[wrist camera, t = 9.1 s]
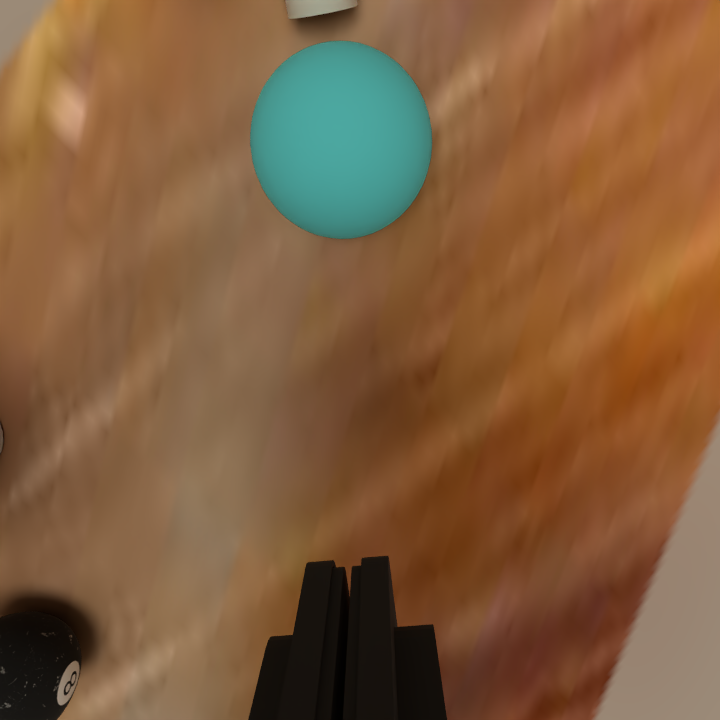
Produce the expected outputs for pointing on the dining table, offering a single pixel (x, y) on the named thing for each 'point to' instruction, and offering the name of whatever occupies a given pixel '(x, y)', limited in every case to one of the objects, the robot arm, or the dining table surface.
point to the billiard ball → (36, 666)
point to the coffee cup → (1, 438)
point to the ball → (341, 139)
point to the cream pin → (316, 7)
